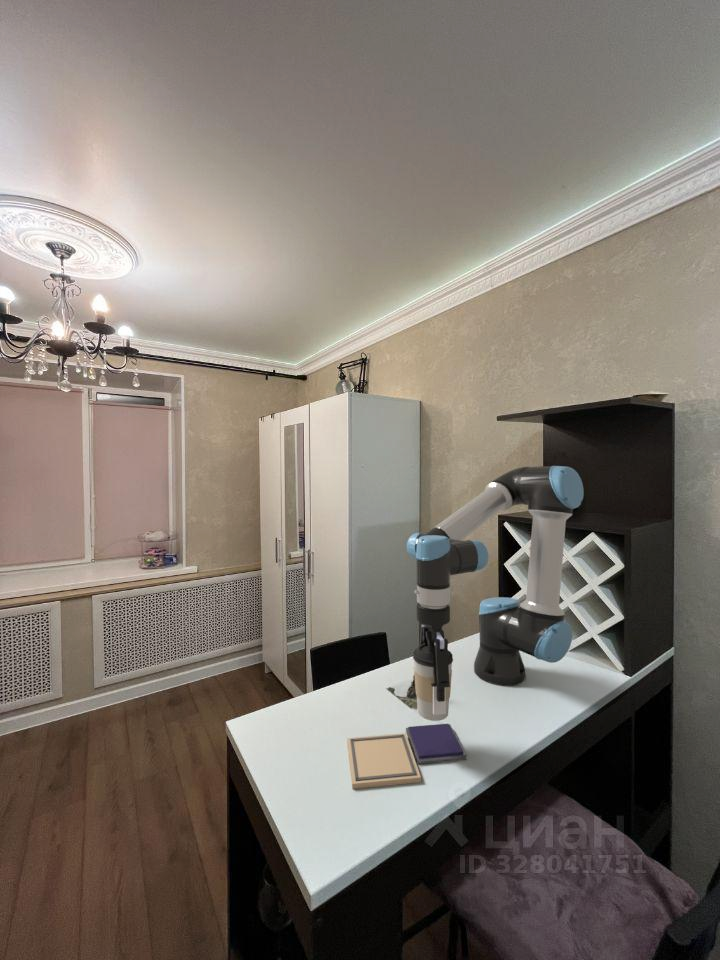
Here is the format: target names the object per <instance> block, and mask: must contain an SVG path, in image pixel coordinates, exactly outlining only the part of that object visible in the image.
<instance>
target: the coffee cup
mask: <svg viewBox="0 0 720 960" xmlns="http://www.w3.org/2000/svg"><path fill="white" fill-rule="evenodd" d="M432 648H435V647H432ZM412 658H413V662H414V663H413V665H414V667H413V671H414V672H413V676H414V675H415V689H416V695H417V707H418V709H417V713H418V715H419V716H420V717H422V719H425V720H428V721H432V722H434V721H435V722H436V721H437V722H439V721H443V720H445V719H447V718H448V716H449V707H450V698H451V686H452V676H453V670H452V666H453V664H452V663H453V662H454V658H453V653H452V652H451V651H450V650H448V667H449V683H450V687H446V714H440V715H434V714H433V687H432V686H431V683H434V675H433V667H434V666H433V660H432V653H431V652H429V650H428V646H425V644H422V645H420V644H419V646H418V647H417V648H415V649H414V651H413V655H412Z"/></svg>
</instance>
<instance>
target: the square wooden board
mask: <svg viewBox="0 0 720 960" xmlns="http://www.w3.org/2000/svg"><path fill="white" fill-rule="evenodd" d="M346 740H347V741H346V742H347V752H348V759H349V761H348V762H349V769H350V771H349V772H350V777H351V778H350V779H351V787H352V788H351V789H352V790H354V789H355V790H357V789H364V788H365V789H367V788H376V787H385V786H393V785H404V784H405V785H406V784H414V783H415V784H416V783H421V782H422V777H421V776H422V775H421V773H420V772H419V768H418V764H417V762H416V759H415V756H414V753H413V750H412V748H411V745H410V742H409V739H408V736H407V733H406V732H404V733H403V732H402V733H393V734H380V735H367V736H359V737H358V736H354V737H347V738H346Z"/></svg>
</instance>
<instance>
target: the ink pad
mask: <svg viewBox="0 0 720 960" xmlns="http://www.w3.org/2000/svg"><path fill="white" fill-rule="evenodd" d="M405 733H406V735H407V738H408V741H409V744H410V747H411V750H412V753H413V756H414V759H415V762H416V765H425V764H434V763H435V764H436V763H445V762H458V761H466V760H467V754H466V752H465V750H464V748H463V746H462V744H461V742H460V741H459V739H458V737H457V734H456V733H455V731H454V729H453V726H452V725H451V724H450V723H440V724H438V723H437V724H427V725H415V726H414V725H413V726H408V727H406V728H405Z"/></svg>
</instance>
